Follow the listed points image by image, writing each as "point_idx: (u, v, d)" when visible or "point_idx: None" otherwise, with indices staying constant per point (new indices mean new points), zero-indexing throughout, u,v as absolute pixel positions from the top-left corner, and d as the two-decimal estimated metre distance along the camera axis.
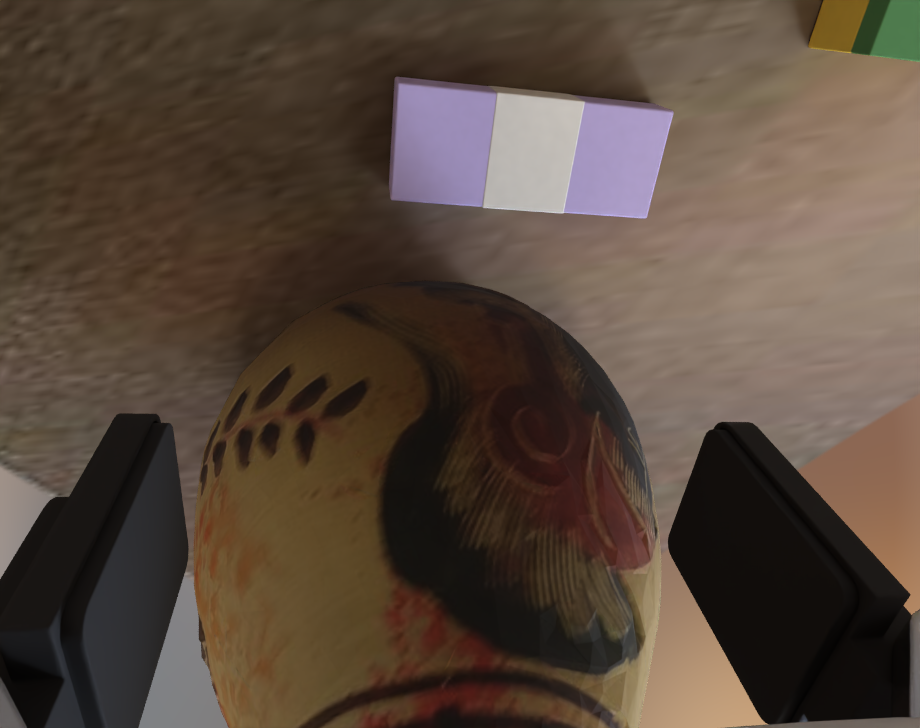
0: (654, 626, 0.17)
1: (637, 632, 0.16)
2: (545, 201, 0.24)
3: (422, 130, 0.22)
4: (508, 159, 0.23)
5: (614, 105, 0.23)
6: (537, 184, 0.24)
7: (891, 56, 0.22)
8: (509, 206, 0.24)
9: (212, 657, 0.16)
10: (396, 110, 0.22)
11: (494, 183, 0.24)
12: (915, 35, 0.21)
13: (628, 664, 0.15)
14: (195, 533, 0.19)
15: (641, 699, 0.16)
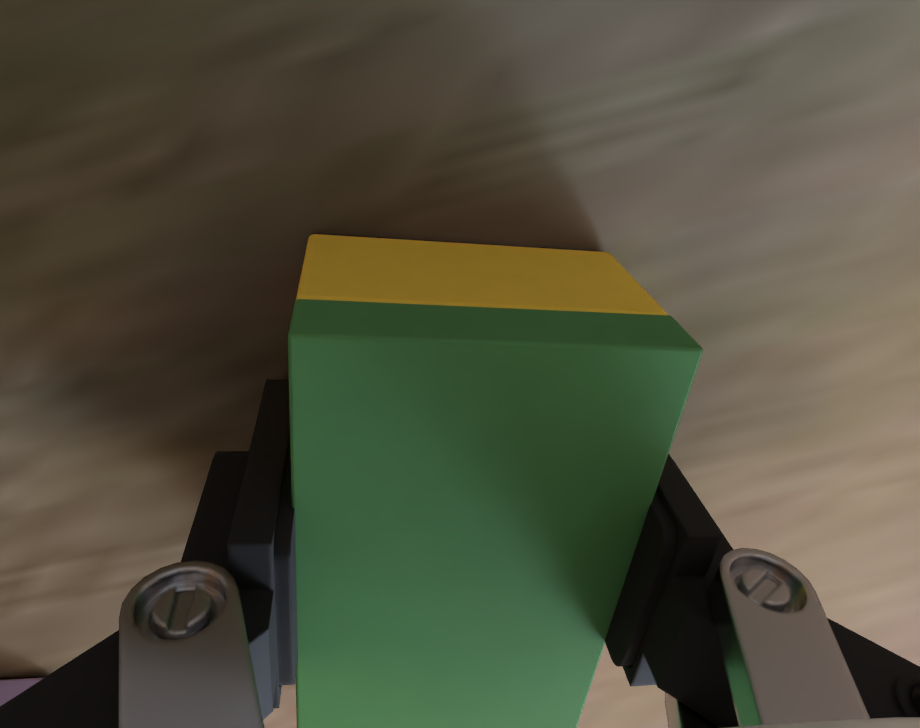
0: None
1: None
2: None
3: None
4: None
5: None
6: None
7: None
8: None
9: None
10: None
11: None
12: (382, 718, 0.11)
13: None
14: None
15: None
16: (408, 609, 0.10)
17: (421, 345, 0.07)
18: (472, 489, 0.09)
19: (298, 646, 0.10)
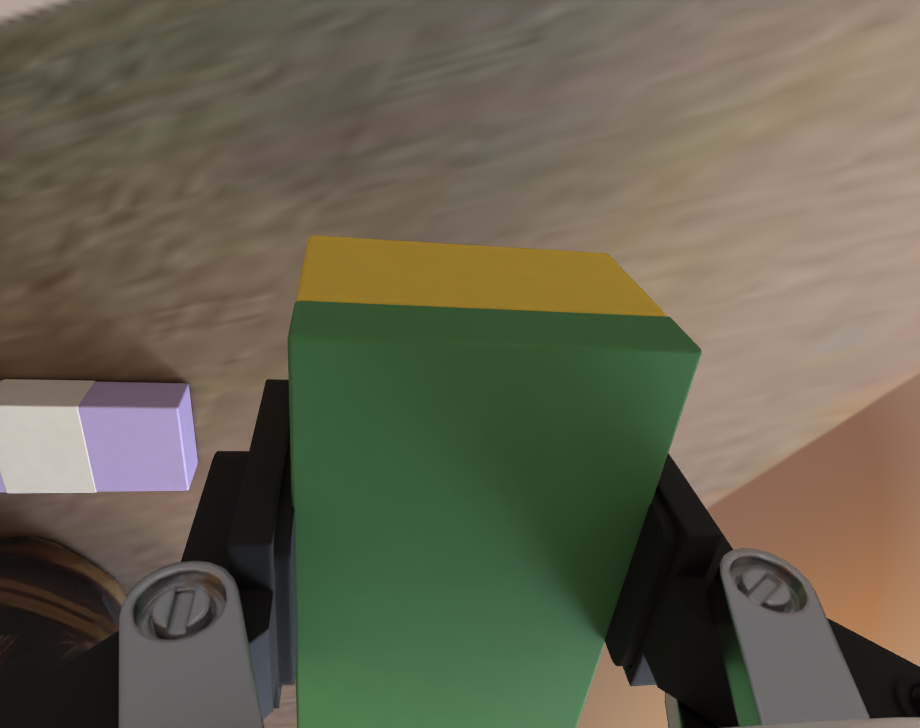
0: None
1: None
2: (72, 484, 0.25)
3: None
4: (17, 455, 0.24)
5: (112, 406, 0.23)
6: (57, 472, 0.24)
7: None
8: (35, 491, 0.25)
9: None
10: None
11: (10, 474, 0.24)
12: (383, 719, 0.11)
13: None
14: None
15: None
16: (408, 610, 0.10)
17: (421, 346, 0.07)
18: (472, 490, 0.09)
19: (298, 647, 0.10)
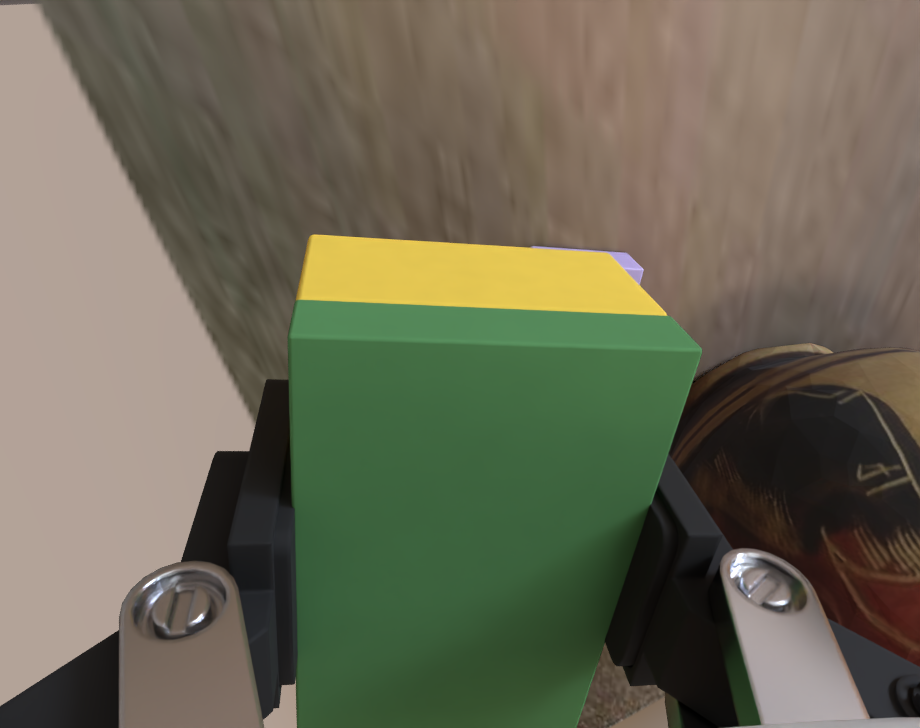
0: None
1: None
2: None
3: None
4: None
5: None
6: None
7: None
8: None
9: None
10: None
11: None
12: (382, 720, 0.11)
13: None
14: None
15: None
16: (408, 609, 0.10)
17: (421, 345, 0.07)
18: (472, 489, 0.09)
19: (298, 646, 0.10)
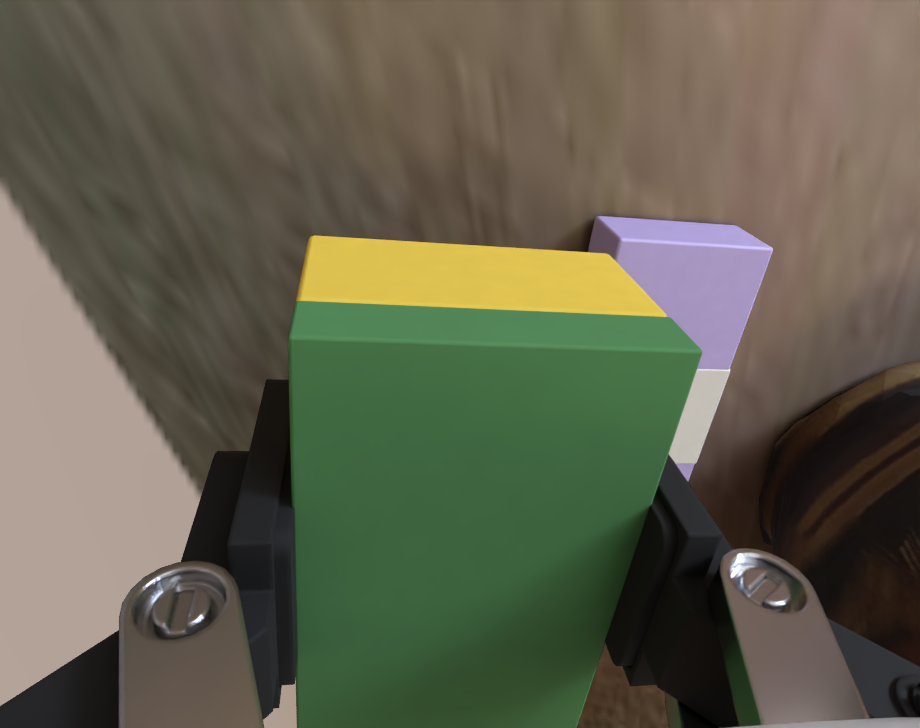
0: None
1: None
2: (708, 395, 0.17)
3: None
4: None
5: None
6: None
7: None
8: (703, 435, 0.18)
9: None
10: None
11: (670, 454, 0.18)
12: (382, 720, 0.11)
13: None
14: None
15: None
16: (408, 610, 0.10)
17: (421, 347, 0.07)
18: (472, 490, 0.09)
19: (298, 647, 0.10)
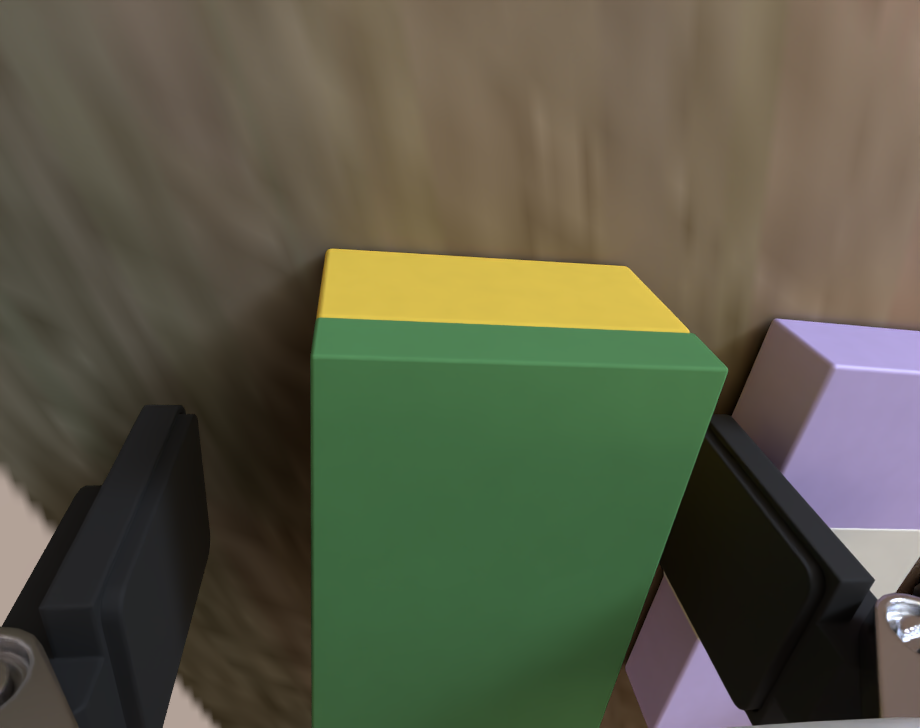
0: None
1: None
2: (901, 559, 0.13)
3: (721, 709, 0.15)
4: None
5: None
6: None
7: None
8: None
9: None
10: None
11: None
12: None
13: None
14: None
15: None
16: (426, 628, 0.09)
17: (445, 366, 0.07)
18: (493, 509, 0.08)
19: (315, 665, 0.10)
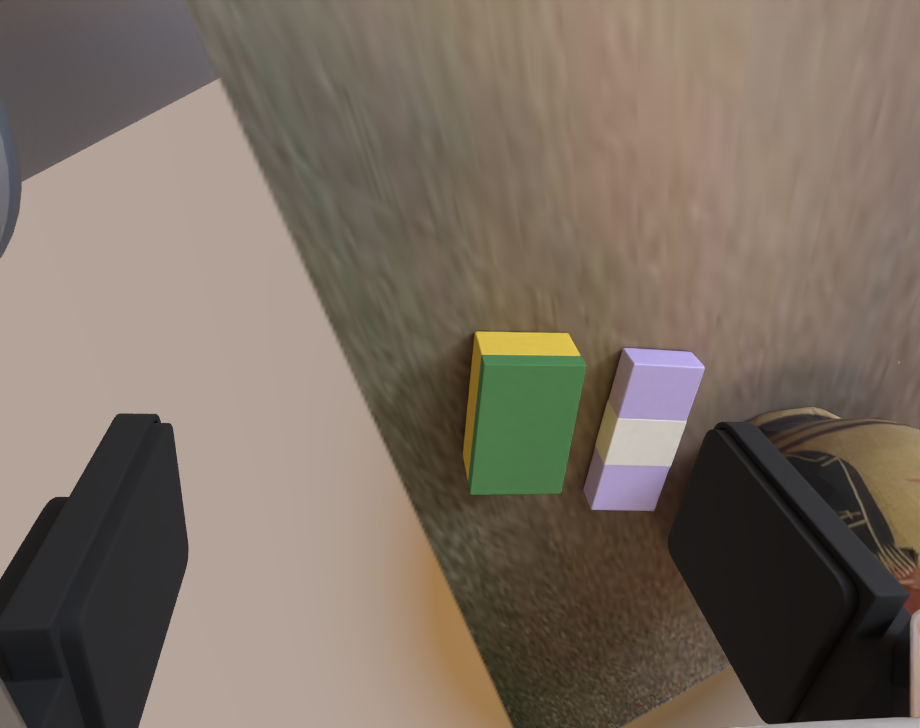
0: None
1: None
2: (676, 433, 0.36)
3: (618, 498, 0.38)
4: (644, 455, 0.36)
5: (623, 400, 0.34)
6: (663, 438, 0.36)
7: (485, 494, 0.34)
8: (674, 452, 0.36)
9: None
10: (605, 509, 0.38)
11: (657, 461, 0.36)
12: (497, 483, 0.34)
13: None
14: None
15: None
16: (507, 442, 0.33)
17: (515, 366, 0.30)
18: (526, 404, 0.31)
19: (475, 453, 0.33)
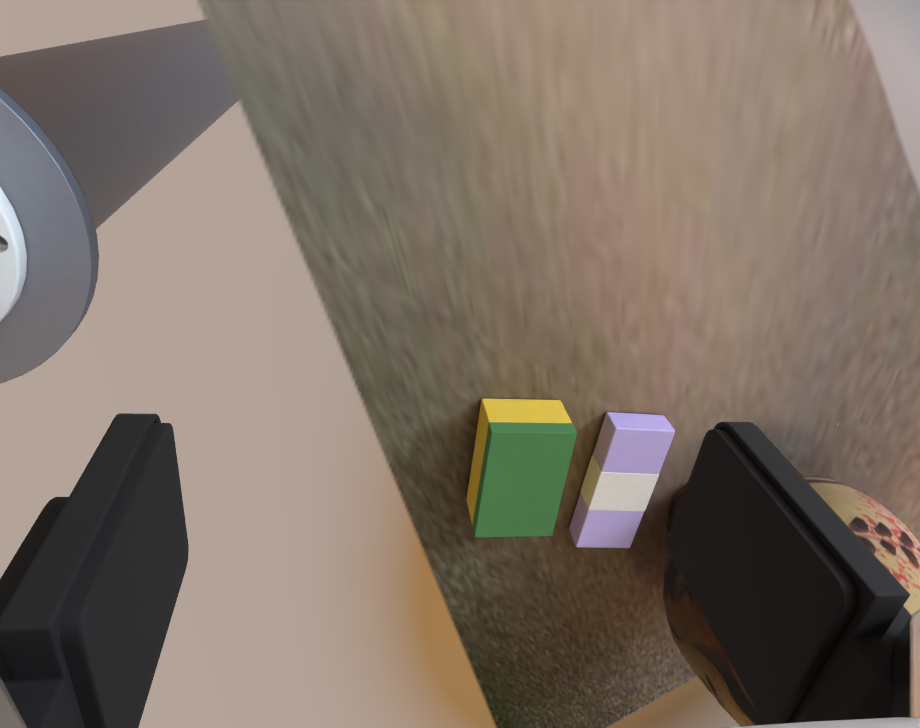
0: None
1: None
2: (649, 483, 0.42)
3: (599, 537, 0.43)
4: (622, 502, 0.42)
5: (606, 457, 0.40)
6: (639, 488, 0.42)
7: None
8: (647, 500, 0.42)
9: None
10: None
11: (633, 507, 0.42)
12: (498, 528, 0.39)
13: None
14: None
15: None
16: (508, 494, 0.38)
17: (517, 433, 0.36)
18: (526, 463, 0.37)
19: (480, 504, 0.38)
